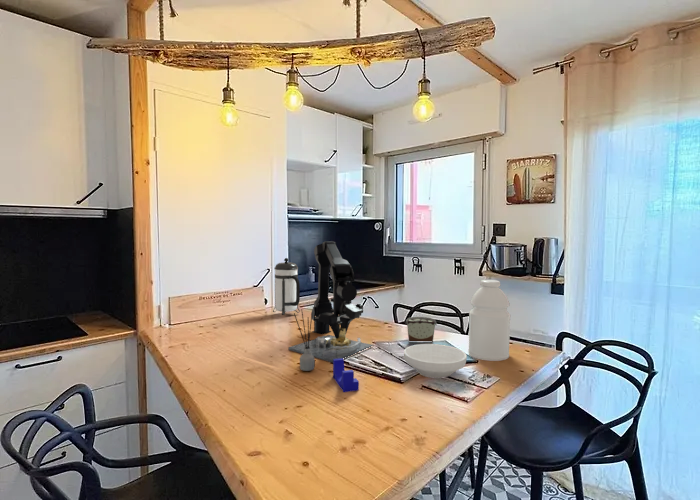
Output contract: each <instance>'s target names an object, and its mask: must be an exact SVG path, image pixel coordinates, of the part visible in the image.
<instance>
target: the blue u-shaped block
mask: <svg viewBox="0 0 700 500" xmlns="http://www.w3.org/2000/svg"><path fill="white" fill-rule="evenodd" d="M332 364H333V365H332V367H333V368H332V371H333V372H332V378H333V379H334V381H335V383H336V384H337V385H338V387H339V388H340V390H341V391H342V393H348V392H354V391H355V392H356V391H359V389H360V388H359V387H360V386H359V384H360V381H359V380H358V379H357V378H356V377H355V376H354V374H355V373H354V372H355V371H354V370H353V369H348V370H347V369H346V370H345V359H343V358H340V359H333V363H332Z"/></svg>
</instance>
